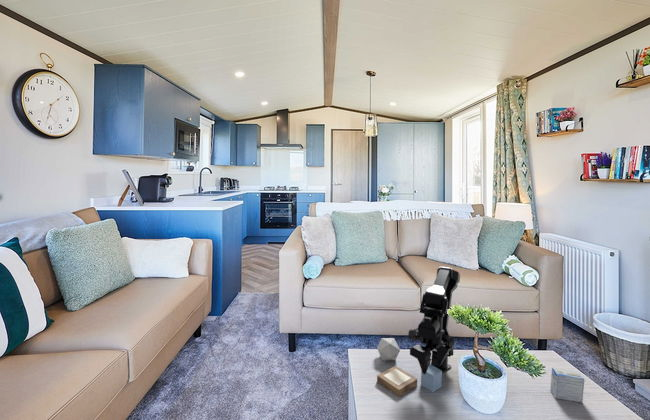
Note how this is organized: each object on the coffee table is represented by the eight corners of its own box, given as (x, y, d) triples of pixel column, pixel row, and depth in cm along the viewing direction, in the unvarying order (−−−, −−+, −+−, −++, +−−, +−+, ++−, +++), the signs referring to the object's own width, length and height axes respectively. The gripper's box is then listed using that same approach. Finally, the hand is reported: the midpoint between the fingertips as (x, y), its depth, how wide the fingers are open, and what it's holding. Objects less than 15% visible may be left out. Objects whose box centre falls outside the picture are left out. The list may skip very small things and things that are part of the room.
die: (394, 369, 123) (406, 345, 126) (374, 356, 125) (386, 333, 127) (389, 364, 132) (401, 342, 134) (371, 352, 133) (382, 331, 135)
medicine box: (576, 395, 108) (578, 371, 107) (582, 403, 104) (585, 378, 103) (549, 390, 110) (551, 367, 110) (555, 398, 106) (556, 374, 105)
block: (429, 379, 116) (429, 364, 115) (441, 386, 112) (442, 370, 111) (420, 384, 113) (421, 369, 112) (433, 392, 109) (433, 375, 108)
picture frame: (395, 372, 120) (395, 365, 120) (417, 385, 112) (417, 378, 112) (377, 381, 114) (377, 375, 114) (398, 396, 106) (399, 389, 106)
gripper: (429, 312, 123) (427, 350, 124) (398, 325, 111) (396, 367, 113) (456, 322, 114) (454, 363, 115) (425, 338, 102) (423, 383, 104)
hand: (431, 368), depth 112 cm, fingers open, 9 cm apart
